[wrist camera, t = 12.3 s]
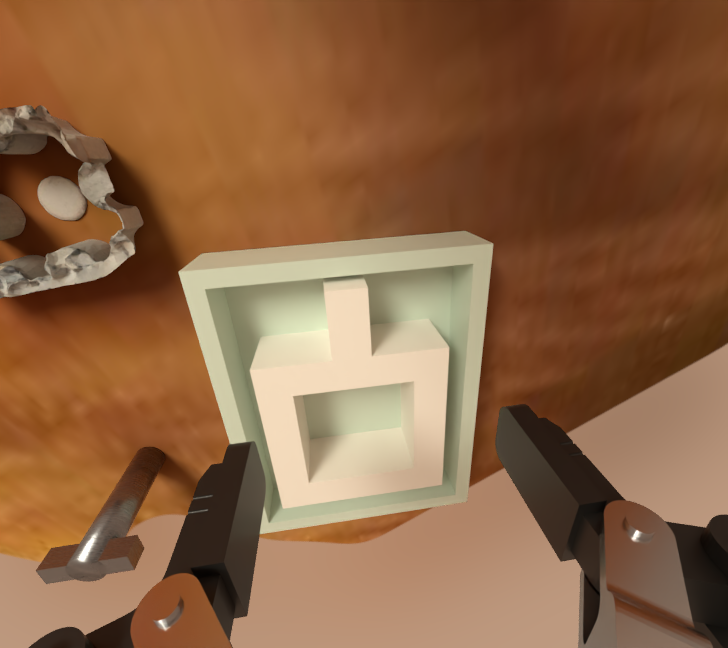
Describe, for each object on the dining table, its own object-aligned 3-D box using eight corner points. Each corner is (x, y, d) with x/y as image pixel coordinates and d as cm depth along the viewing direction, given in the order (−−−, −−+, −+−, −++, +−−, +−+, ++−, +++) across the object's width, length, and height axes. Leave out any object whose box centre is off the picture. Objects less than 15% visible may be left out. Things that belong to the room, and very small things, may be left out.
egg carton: (101, 109, 17) (41, 93, 13) (165, 256, 20) (131, 276, 17) (-123, 149, 17) (-248, 144, 13) (-21, 293, 20) (-97, 322, 16)
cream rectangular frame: (248, 276, 20) (233, 300, 17) (429, 259, 21) (453, 279, 18) (287, 462, 27) (282, 508, 23) (425, 443, 28) (442, 484, 24)
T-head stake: (113, 451, 25) (32, 566, 18) (178, 443, 26) (124, 551, 18) (123, 471, 26) (49, 587, 19) (186, 462, 26) (137, 573, 19)
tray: (201, 253, 20) (178, 272, 17) (465, 230, 22) (493, 243, 18) (264, 490, 29) (257, 534, 25) (450, 463, 30) (467, 501, 27)
